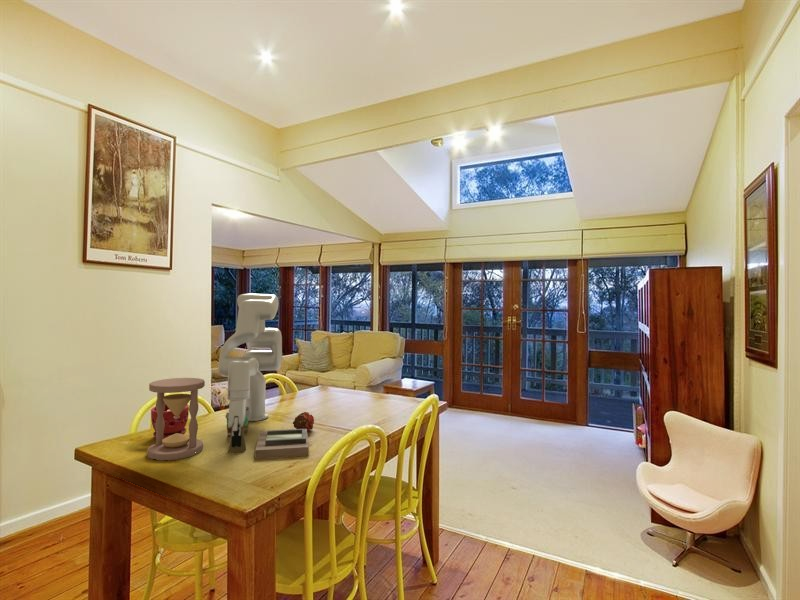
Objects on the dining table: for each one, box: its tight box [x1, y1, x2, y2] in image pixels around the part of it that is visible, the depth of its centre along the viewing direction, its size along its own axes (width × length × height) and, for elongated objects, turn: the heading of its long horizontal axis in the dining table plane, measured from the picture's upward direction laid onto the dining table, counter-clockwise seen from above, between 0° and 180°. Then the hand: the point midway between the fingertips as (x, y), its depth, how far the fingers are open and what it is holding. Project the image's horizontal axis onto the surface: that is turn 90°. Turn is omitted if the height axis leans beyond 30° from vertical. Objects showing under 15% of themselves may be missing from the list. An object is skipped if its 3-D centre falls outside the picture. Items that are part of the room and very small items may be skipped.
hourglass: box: [146, 377, 206, 461], centre depth 148 cm, size 18×18×25 cm
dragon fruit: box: [292, 411, 315, 431], centre depth 176 cm, size 8×8×12 cm
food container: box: [225, 406, 251, 438], centre depth 169 cm, size 12×6×10 cm, turn 168°
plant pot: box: [150, 403, 190, 439], centre depth 165 cm, size 13×13×12 cm
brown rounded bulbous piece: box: [227, 421, 247, 454], centre depth 150 cm, size 6×6×11 cm
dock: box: [254, 428, 310, 460], centre depth 155 cm, size 22×18×4 cm
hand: (237, 444), depth 150 cm, fingers closed on brown rounded bulbous piece, 4 cm apart
